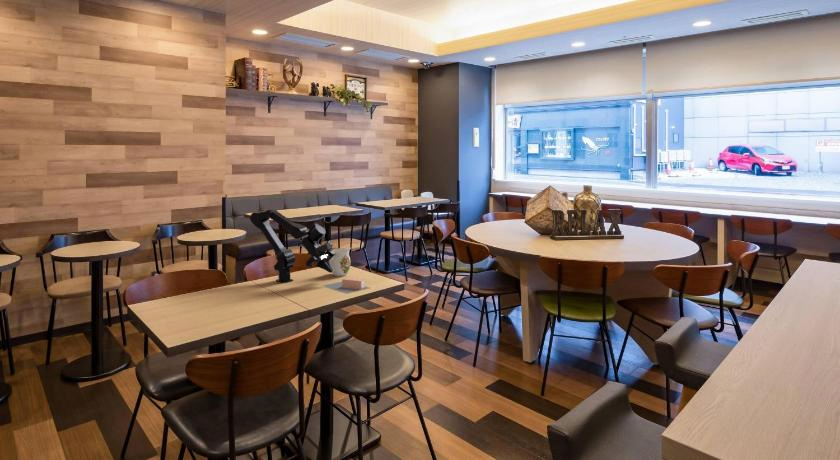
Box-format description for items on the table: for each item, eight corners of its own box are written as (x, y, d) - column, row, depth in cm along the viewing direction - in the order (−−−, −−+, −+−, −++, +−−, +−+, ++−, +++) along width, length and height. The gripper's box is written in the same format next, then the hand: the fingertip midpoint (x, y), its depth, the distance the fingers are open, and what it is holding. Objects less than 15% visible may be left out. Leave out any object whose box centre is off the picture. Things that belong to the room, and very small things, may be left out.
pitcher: (318, 277, 262) (317, 251, 260) (344, 271, 276) (343, 246, 274) (333, 280, 256) (332, 253, 254) (358, 273, 270) (357, 248, 268)
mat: (322, 286, 244) (321, 285, 244) (345, 281, 253) (345, 280, 253) (346, 294, 229) (346, 293, 229) (371, 288, 239) (371, 287, 239)
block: (342, 279, 240) (360, 281, 236) (346, 277, 243) (365, 279, 239) (342, 287, 240) (361, 289, 236) (346, 285, 244) (365, 287, 240)
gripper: (310, 239, 235) (331, 265, 232) (332, 233, 252) (351, 257, 249) (296, 254, 239) (316, 280, 236) (319, 248, 256) (338, 271, 253)
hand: (331, 271), depth 244 cm, fingers closed
